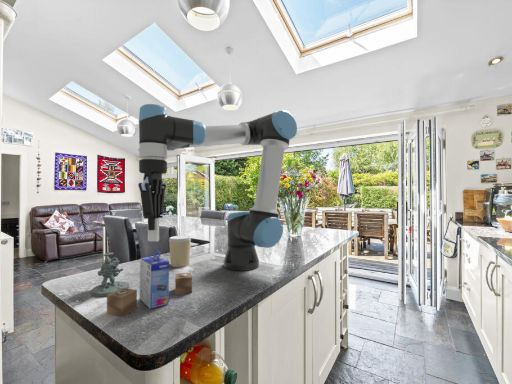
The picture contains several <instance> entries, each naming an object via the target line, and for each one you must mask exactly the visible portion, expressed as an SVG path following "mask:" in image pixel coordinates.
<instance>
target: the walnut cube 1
mask: <svg viewBox="0 0 512 384" xmlns="http://www.w3.org/2000/svg"><path fill="white" fill-rule="evenodd" d="M137 308H138V289H131V288H128V289H125V288H121V289H119V290H117V291H115V292H113V293H110V294H108V295H107V296H106V314H107V315H111V316H118V317H124V316H126V315H127V314H129V313H131V312H133V311H134V310H136V309H137Z"/></svg>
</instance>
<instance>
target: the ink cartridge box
mask: <svg viewBox="0 0 512 384" xmlns="http://www.w3.org/2000/svg"><path fill="white" fill-rule="evenodd" d="M157 254H158V255H157ZM160 256H162V251H161V250H159V249H157V250H155V253H153V255H151V256H146V257H140V259H139V261H140V262H139V263H140V266H139V292H138V293H139V294H138V295H139V297H138V298H139V299H140V300H141V301H142V302H143V303H144V305H146V307H148V309H150V310H151V309H154V308H158V307H162V306H167V305H169V302H170V301H169V300H170V299H169V297H170V296H169V294H170V293H169V291H170V289H169V288H170V284H169V283H170V280H169V279H170V261H169V260H168V259H167V260H166V259H164V258H162V257H160Z"/></svg>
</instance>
